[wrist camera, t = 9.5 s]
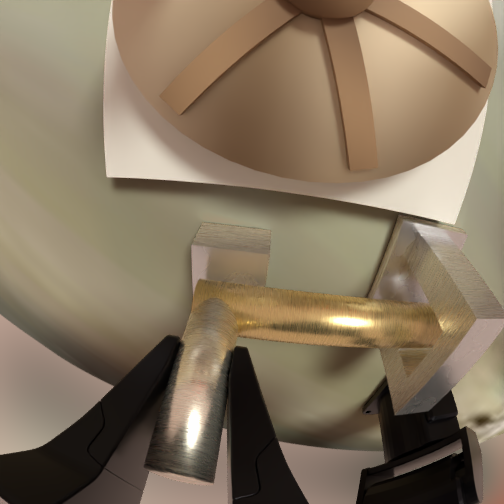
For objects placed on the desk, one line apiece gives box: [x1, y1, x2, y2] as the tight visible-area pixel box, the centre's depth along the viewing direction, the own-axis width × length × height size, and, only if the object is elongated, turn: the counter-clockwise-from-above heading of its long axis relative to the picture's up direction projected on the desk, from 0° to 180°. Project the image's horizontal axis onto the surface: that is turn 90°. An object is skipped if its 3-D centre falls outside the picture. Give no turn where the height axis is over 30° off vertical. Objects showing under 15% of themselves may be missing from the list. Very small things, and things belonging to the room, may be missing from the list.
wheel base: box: [103, 0, 493, 224], centre depth 7 cm, size 15×15×1 cm
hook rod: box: [144, 278, 443, 485], centre depth 8 cm, size 2×12×8 cm, turn 85°
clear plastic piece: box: [191, 215, 504, 415], centre depth 11 cm, size 7×12×6 cm, turn 85°
